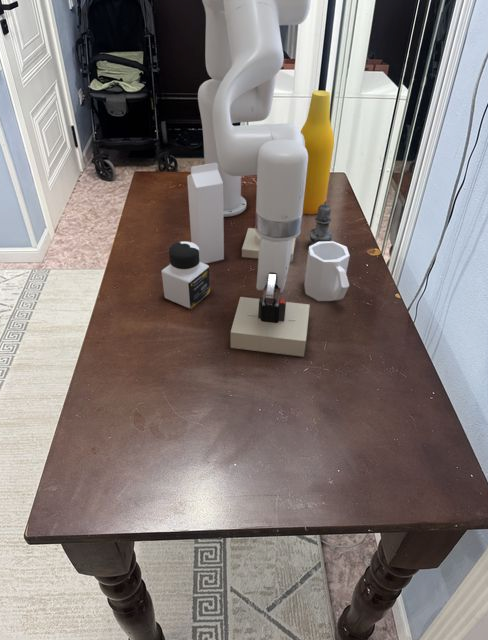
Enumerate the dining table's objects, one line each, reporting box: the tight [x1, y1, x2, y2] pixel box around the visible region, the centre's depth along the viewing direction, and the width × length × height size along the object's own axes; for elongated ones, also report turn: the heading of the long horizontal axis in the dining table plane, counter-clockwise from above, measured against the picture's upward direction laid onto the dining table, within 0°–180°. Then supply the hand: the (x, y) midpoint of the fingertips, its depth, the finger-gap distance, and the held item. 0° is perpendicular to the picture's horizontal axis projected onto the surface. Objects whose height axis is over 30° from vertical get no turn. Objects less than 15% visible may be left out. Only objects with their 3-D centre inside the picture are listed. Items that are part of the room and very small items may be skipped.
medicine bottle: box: [161, 240, 211, 310], centre depth 101 cm, size 7×7×12 cm
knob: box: [258, 296, 287, 321], centre depth 93 cm, size 5×2×4 cm, turn 81°
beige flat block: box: [230, 296, 311, 358], centre depth 96 cm, size 14×11×4 cm
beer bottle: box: [300, 90, 335, 216], centre depth 126 cm, size 9×9×29 cm
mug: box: [303, 240, 351, 302], centre depth 103 cm, size 12×9×10 cm
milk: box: [186, 163, 225, 264], centre depth 109 cm, size 6×6×22 cm
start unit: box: [241, 227, 297, 263], centre depth 119 cm, size 12×10×4 cm
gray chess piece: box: [308, 200, 334, 248], centre depth 117 cm, size 6×6×12 cm
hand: (272, 305), depth 92 cm, fingers open, 9 cm apart
